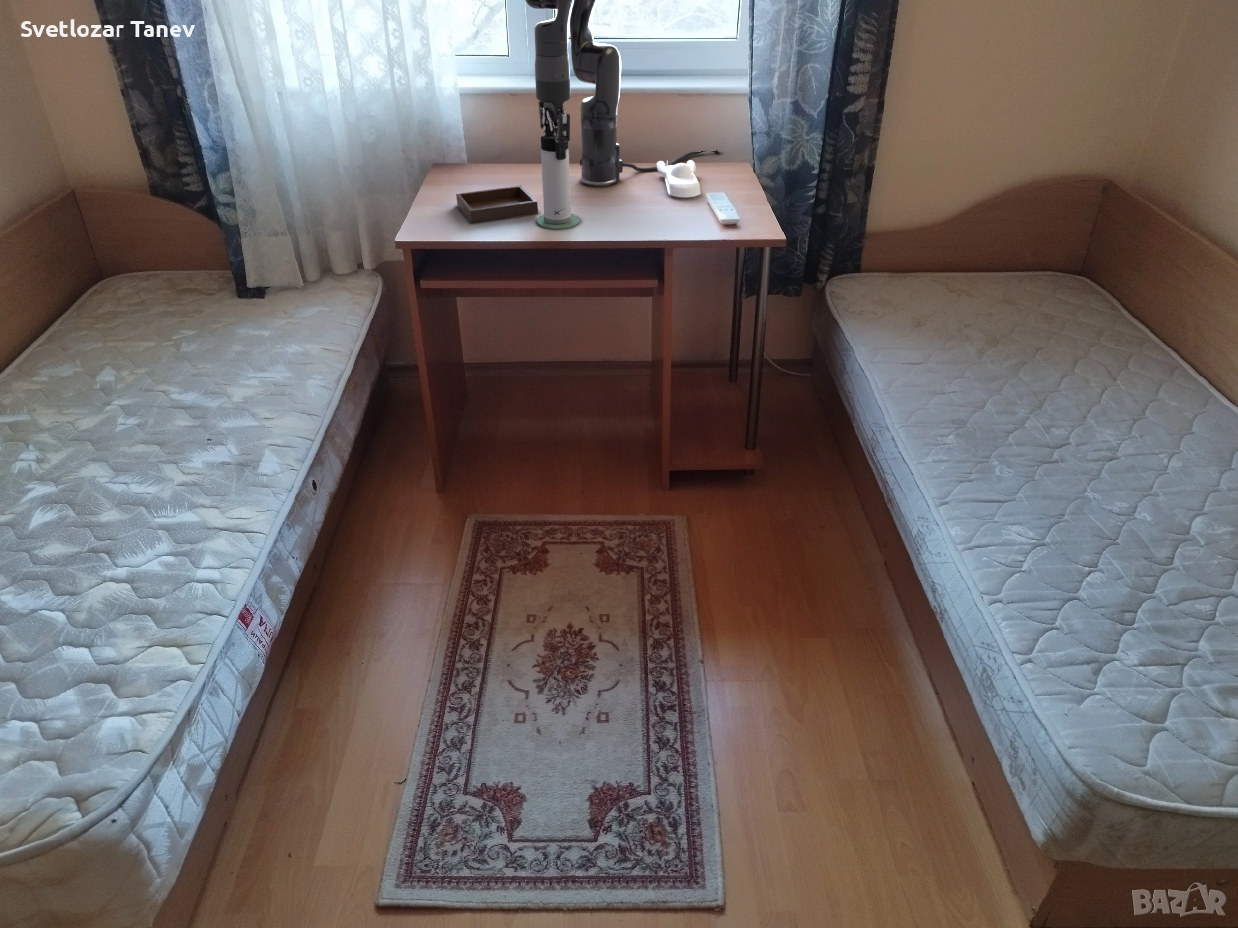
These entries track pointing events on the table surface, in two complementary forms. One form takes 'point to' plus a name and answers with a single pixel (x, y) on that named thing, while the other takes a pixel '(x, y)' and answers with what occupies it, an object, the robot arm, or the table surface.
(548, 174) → the travel mug
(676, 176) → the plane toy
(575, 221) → the coaster
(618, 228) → the table surface
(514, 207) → the tray
